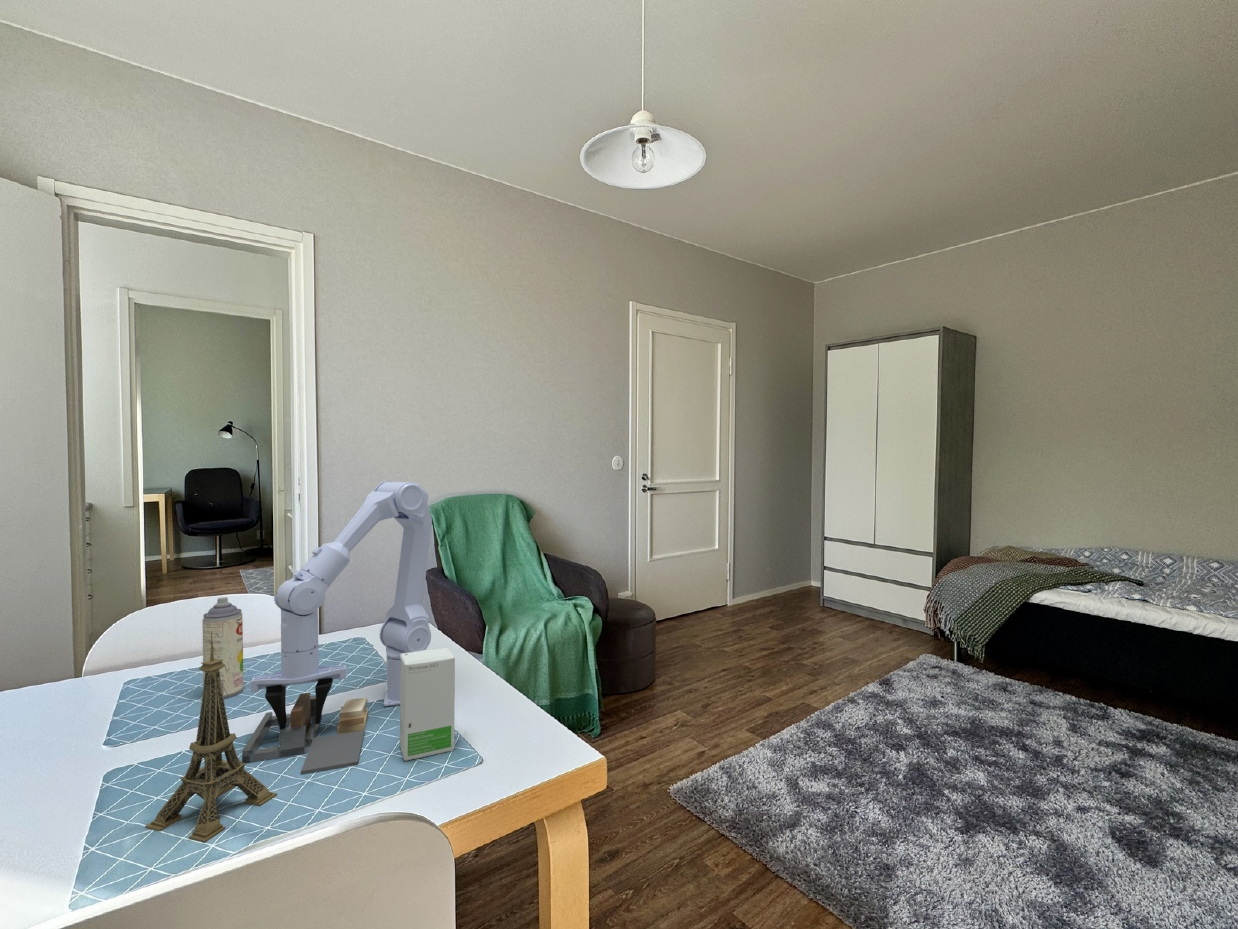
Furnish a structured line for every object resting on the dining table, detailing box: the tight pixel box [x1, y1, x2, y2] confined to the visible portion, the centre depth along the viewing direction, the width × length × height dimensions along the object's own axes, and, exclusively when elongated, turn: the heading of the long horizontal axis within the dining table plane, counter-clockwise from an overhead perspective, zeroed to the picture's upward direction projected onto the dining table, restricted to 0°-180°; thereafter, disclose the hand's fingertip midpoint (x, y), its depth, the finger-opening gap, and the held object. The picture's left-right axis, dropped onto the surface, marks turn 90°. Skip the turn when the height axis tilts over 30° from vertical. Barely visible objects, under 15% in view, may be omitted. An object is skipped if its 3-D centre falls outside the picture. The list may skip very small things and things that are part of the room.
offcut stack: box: [336, 697, 369, 735], centre depth 103 cm, size 4×7×3 cm, turn 19°
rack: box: [241, 695, 320, 764], centre depth 98 cm, size 9×15×4 cm, turn 19°
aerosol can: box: [201, 596, 244, 700], centre depth 117 cm, size 7×7×20 cm
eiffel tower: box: [144, 631, 278, 843], centre depth 78 cm, size 11×11×25 cm
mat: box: [300, 730, 366, 775], centre depth 93 cm, size 8×11×1 cm
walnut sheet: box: [290, 692, 312, 734], centre depth 99 cm, size 2×8×6 cm, turn 19°
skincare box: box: [399, 647, 456, 762], centre depth 94 cm, size 8×7×16 cm
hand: (301, 724), depth 99 cm, fingers open, 5 cm apart
